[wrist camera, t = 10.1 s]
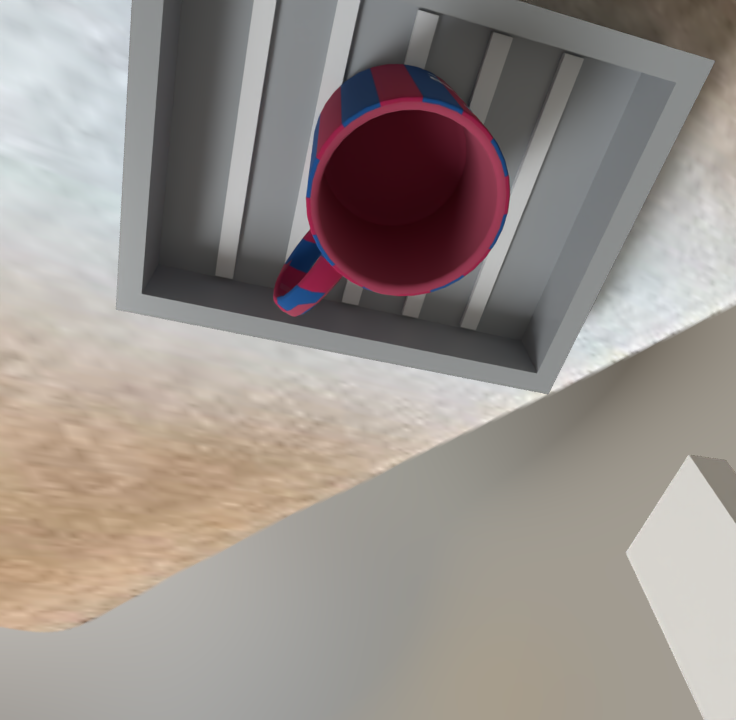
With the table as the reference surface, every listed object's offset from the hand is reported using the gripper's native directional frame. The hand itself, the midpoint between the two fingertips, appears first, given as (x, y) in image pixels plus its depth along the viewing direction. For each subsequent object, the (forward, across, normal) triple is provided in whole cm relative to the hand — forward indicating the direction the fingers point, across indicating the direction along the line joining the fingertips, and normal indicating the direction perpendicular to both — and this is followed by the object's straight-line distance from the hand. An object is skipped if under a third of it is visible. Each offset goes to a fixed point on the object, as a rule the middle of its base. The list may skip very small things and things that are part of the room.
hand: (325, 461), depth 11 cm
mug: (+19, +1, 0) cm, 19 cm away
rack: (+20, +2, 0) cm, 20 cm away
